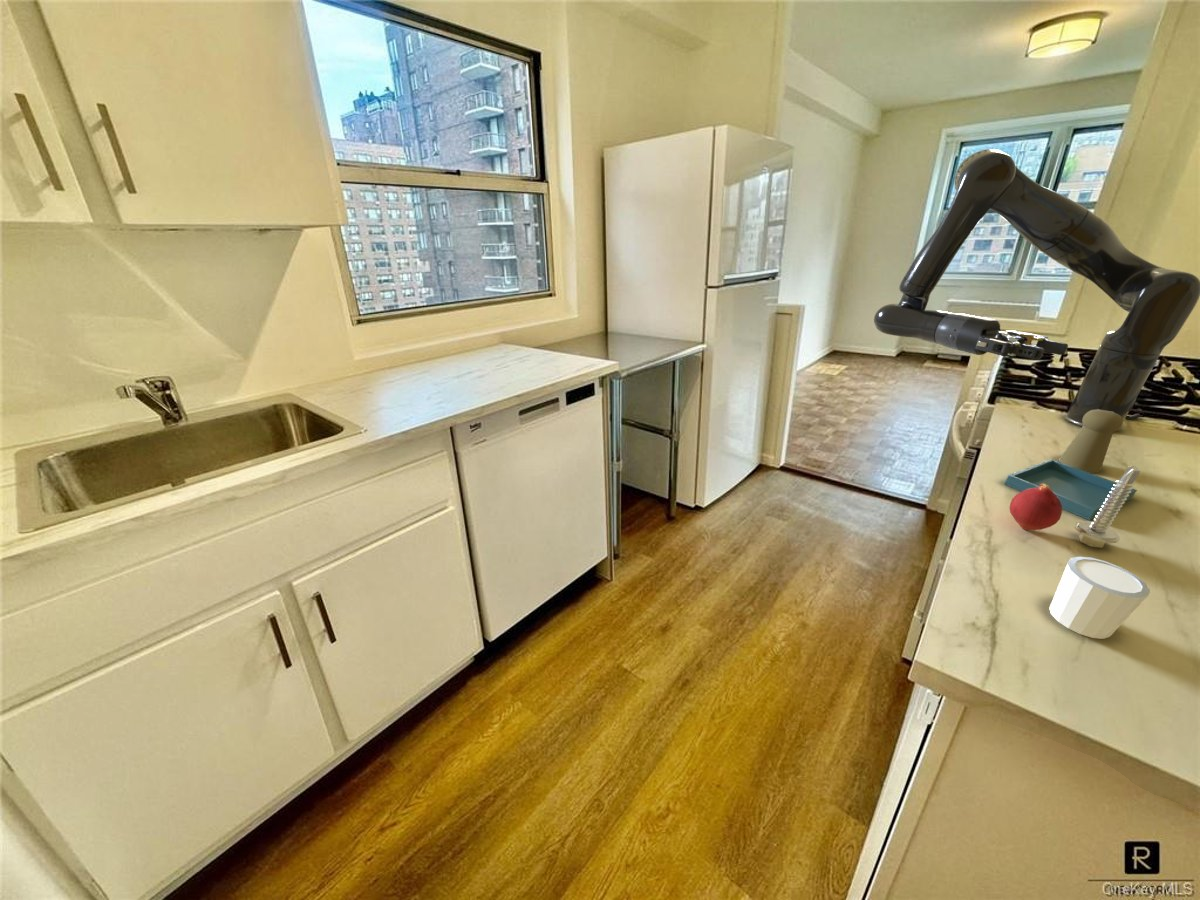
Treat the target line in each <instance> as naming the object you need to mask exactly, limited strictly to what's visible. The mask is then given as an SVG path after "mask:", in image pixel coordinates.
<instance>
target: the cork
mask: <svg viewBox="0 0 1200 900" xmlns="http://www.w3.org/2000/svg"><path fill="white" fill-rule="evenodd" d="M1082 423H1083V425H1084V426H1083V427H1082V426H1081V428H1080V430H1078V432H1077V434H1076V435H1075V436H1074V438H1073V439H1072V440H1071V442H1070V444H1068V446H1067V447H1066V449H1065V450H1064V452H1063V453H1062V454H1061V456H1060V457H1059V458H1058V462H1061V463H1064V464H1066V465H1069V466H1072V467H1075V468H1077V469H1080V470H1083V471H1086V472H1089V473H1091V474H1096V473H1099V472H1101V471H1102V467H1103V464H1104V462H1105V459H1106V455H1107V452H1108V449H1109V447H1110V444H1111V440H1112V437H1113V434H1114V433H1115V432H1118V431H1119V430H1118V429H1119V428H1120V427H1121V428H1122V427H1123V424H1124V421H1123V419H1122V417H1121V416H1120V415H1119V414H1116V413H1114V412H1110V411H1106V410H1091V411H1089V412H1087V413H1086V414H1085V415H1084V417H1083V420H1082ZM1121 428H1120V429H1121ZM1117 430H1118V431H1117Z"/></svg>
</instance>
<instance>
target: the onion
mask: <svg viewBox="0 0 1200 900" xmlns="http://www.w3.org/2000/svg"><path fill="white" fill-rule="evenodd" d="M1009 513H1010V515H1011V516H1012V518H1013V519H1014V521H1015V522H1016V523H1017V524H1018V525H1019V527H1020V528H1021V529H1022V530H1024V531H1040V530H1044V529H1048V528H1051V527H1052V526H1054V525H1057V524H1058V522H1059V521H1060V519H1061V516H1062V513H1063V509H1062V505H1061V502H1060V500H1059V498H1058V497H1057V496H1056V495H1055V494H1054V493H1053V492H1052V490H1051V489H1050V488H1049V486H1048V485H1046V484H1040V486H1039V488H1030V489H1026V490H1024V491H1019V492H1018V493H1017V494H1015V495H1014V496H1013V498H1011V500H1010V503H1009Z"/></svg>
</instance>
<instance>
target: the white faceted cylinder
mask: <svg viewBox="0 0 1200 900" xmlns="http://www.w3.org/2000/svg"><path fill="white" fill-rule="evenodd" d="M1150 592H1151V590H1150V588H1149V586H1148V584H1147V583H1146V582H1145V581H1144V580H1143V579H1141V578H1140V577H1139V576H1138V575H1136V574H1134V573H1133V572H1131V571H1129V570H1127V569H1125V568H1124V567H1121V566H1119V565H1116V564H1114V563H1112V562H1109V561H1106V560H1103V559H1098V558H1095V557H1090V556H1089V557H1088V556H1075V557H1070V558H1069V560H1068V561H1067V563H1066V566H1065V568H1064V571H1063V573H1062V576H1061V578H1060V581H1059V583H1058V586H1057V588H1056V590H1055V593H1054V596H1053V598H1052V599H1051V600H1052V601H1051V602H1050V605H1049V608H1048V609H1049V613H1050V615H1051V616H1052V618H1054V619H1055V621H1057V622H1058V623H1059V624H1060V625H1062V626H1063V627H1065V628H1067V629H1068V630H1070V631H1072V632H1075V633H1076V634H1078V635H1082V636H1085V637H1088V638H1091V639H1100V640H1104V639H1107V638H1110V637H1112V635H1113V634H1114V633H1115V632H1116V631H1117V630H1118V628H1120V626H1122V624H1123V623H1125V622H1126V620H1127V619H1128V618H1129V617H1130V616H1132V614H1133V613H1134V612H1135V611H1136V610H1137V608H1138V607H1139V606H1141V604H1142V603H1143V602H1144V601H1145V600H1146V599H1147V598H1148V597H1149V594H1150Z"/></svg>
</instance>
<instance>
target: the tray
mask: <svg viewBox="0 0 1200 900" xmlns="http://www.w3.org/2000/svg"><path fill="white" fill-rule="evenodd" d="M1040 484H1046V485H1048V486H1049V488H1050V489H1051V490H1052V492H1053V493H1054V494H1055V495H1056V496H1057V497H1058V498H1059V500H1060V502H1061V505H1062V510H1064V511H1067V512H1069V513H1070V514H1074V515H1076V516H1078V517H1080V518H1083V519H1085V520H1087V521H1091V520H1094V519H1096V517H1095V516H1098V512H1100V510H1099V509H1102V507H1101V506H1102V505H1104V503H1103V502H1106V501H1107V500H1105V499H1108V496H1107V495H1110V494H1111V493H1110V492H1112V489H1111V488H1114V487H1115V486H1114V484H1117V482H1116V481H1114V480H1111V479H1107V478H1104V477H1102V476H1099V475H1097V474H1095V473H1089V472H1086V471H1083V470H1080V469H1077V468H1075V467H1072V466H1069V465H1066V464H1064V463H1061V462H1059V460H1055V459H1053V458H1050V459H1047V460H1045V461H1042V462H1039V463H1037V464H1035V465H1031V466H1029V467H1027V468H1024V469H1021V470H1019V471H1015V472H1013V473H1010V474H1008V475H1007V477H1006V480H1005V482H1004V485H1006V486H1007V487H1010V488H1013V489H1015V490H1017V491H1019V492H1022V491H1024V490H1026V489H1030V488H1039V486H1040ZM1136 492H1137V489H1136V488H1133V489H1131V493H1128V494H1129V496H1128V497H1126V498H1127V500H1125V501H1124V502H1125V503H1127V502H1129V501H1131V500H1132V499H1133V497H1134V496H1135V494H1136Z"/></svg>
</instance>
